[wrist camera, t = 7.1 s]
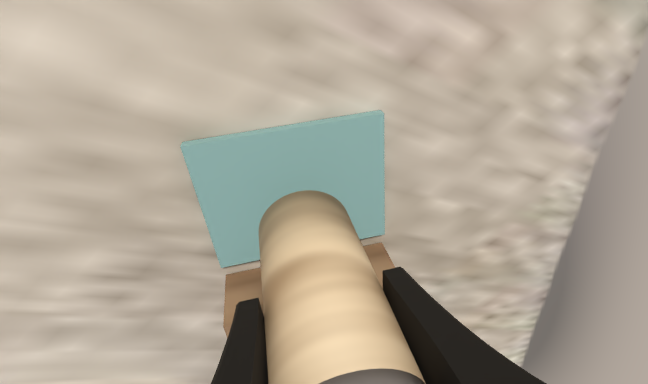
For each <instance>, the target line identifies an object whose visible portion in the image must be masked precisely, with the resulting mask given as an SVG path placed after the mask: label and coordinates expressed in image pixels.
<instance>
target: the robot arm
mask: <svg viewBox="0 0 648 384" xmlns="http://www.w3.org/2000/svg"><path fill="white" fill-rule="evenodd" d="M383 291H384V294H385V296H386V298H387V300H388V302H389V304H390V307H391V309H392V311H393V313H394V315H395V318H396V320H397V322H398V324H399V326H400V328H401V331H402V333H403V335H404V337H405V339H406V342H407V344H408V346H409V348H410V350H411V352H412V355H413V357H414V359H415V361H416V363H417V366H418V368H419V370H420V372H421V374H422V376H423V379H424V381H425V383H426V384H546V383H544V382H543V381H541V380H539V379H538V378H536V377H534V376H533V375H531V374H530V373H528V372H527V371H525V370H524V369H522V368H521V367H519V366H518V365H516V364H515V363H513V362H512V361H510V360H509V359H507V358H506V357H505V356H503V355H502V354H500V353H499V352H498V351H496V350H495V349H493V348H492V347H491V346H489V345H488V344H487V343H485V342H484V341H483V340H481V339H480V338H479V337H478V336H476V335H475V334H474V333H473V332H471V331H470V330H469V329H468V328H466V327H465V326H464V325H463V324H462V323H460V322H459V321H458V320H457V319H456V318H454V317H453V316H452V315H451V314H450V313H449V312H448V311H447V310H445V309H444V308H443V307H442V306H441V305H440V304H439V303H438V302H437V301H435V300H434V299H433V298H432V297H431V296H430V295H429V294H428V293H427V292H426V291H425V290H424V289H423V288H422V287H421V286H420V285H419V284H418V283H417V282H416V281H415V280H414V279H413V278H412V277H411V276H410V275H409V274H408V273H407V272H406V271H405V270H404V269H403V268H401V267H397V268H392V269H388V270H383ZM211 384H268V369H267V354H266V338H265V323H264V316H263V312H262V308H261V305H260V301H259V298H254V299H250V300H245V301H240V302H238V304H237V305H236V309H235V313H234V317H233V321H232V325H231V328H230V332H229V335H228V338H227V341H226V345H225V347H224V350H223V353H222V356H221V359H220V362H219V364H218V367H217V370H216V373H215V375H214V378H213V380H212V382H211Z"/></svg>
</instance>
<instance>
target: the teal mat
mask: <svg viewBox="0 0 648 384" xmlns="http://www.w3.org/2000/svg"><path fill="white" fill-rule="evenodd" d="M181 150H182V153H183V156H184V159H185V162H186V165H187V168H188V171H189V174H190V177H191V180H192V183H193V186H194V189H195V191H196V194H197V197H198V200H199V203H200V206H201V209H202V212H203V215H204V218H205V221H206V224H207V227H208V230H209V233H210V236H211V239H212V242H213V245H214V248H215V251H216V254H217V257H218V260H219V263H220V266H221V268H223V267H228V266H233V265H237V264H242V263H247V262H252V261H257V260H260V249H259V224H260V221H261V218H262V216H263V214H264V213H265V212H266V210H267V209H268V208H269V207H270V206H271V205H272V204H273V203H274V202H275V201H277V200H278V199H280V198H282V197H283V196H285V195H288V194H290V193H294V192H297V191H304V190H313V191H320V192H324V193H327V194H329V195H331V196H333V197H335V198H336V199H337V200H339V201H340V202H341V203H342V205H343V206H344V207H345V209H346V211H347V213H348V215H349V217H350V219H351V222H352V224H353V226H354V228H355V230H356V233H357V235H358V237H359V239H364V238H369V237H374V236H378V235H383V234H385V216H384V113H383V112H382V111H381V110H378V111H371V112H365V113H359V114H353V115H347V116H340V117H334V118H328V119H322V120H316V121H310V122H303V123H297V124H291V125H285V126H279V127H273V128H266V129H260V130H254V131H248V132H242V133H236V134H229V135H223V136H217V137H211V138H205V139H198V140H192V141H186V142H182V144H181Z"/></svg>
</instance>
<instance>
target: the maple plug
mask: <svg viewBox="0 0 648 384" xmlns="http://www.w3.org/2000/svg"><path fill="white" fill-rule="evenodd" d="M259 249H260V264H261V279H262V294H263V309H264V323H265V338H266V354H267V369H268V384H426V383H425V381H424V379H423V376H422V374H421V372H420V370H419V368H418V366H417V363H416V361H415V359H414V357H413V355H412V352H411V350H410V348H409V346H408V344H407V342H406V339H405V337H404V335H403V333H402V331H401V328H400V326H399V324H398V322H397V320H396V318H395V315H394V313H393V311H392V309H391V307H390V304H389V302H388V300H387V298H386V296H385V294H384V291H383V289H382V287H381V285H380V283H379V280H378V278H377V276H376V274H375V272H374V270H373V267H372V265H371V263H370V261H369V259H368V256H367V254H366V252H365V250H364V248H363V246H362V243H361V241H360V239H359V237H358V235H357V233H356V230H355V228H354V226H353V224H352V222H351V219H350V217H349V215H348V213H347V211H346V209H345V207H344V206H343V205H342V203H341V202H340V201H339V200H337V199H336V198H335V197H333V196H331V195H329V194H327V193H324V192H320V191H313V190H304V191H297V192H294V193H290V194H288V195H285V196H283V197H282V198H280V199H278V200H277V201H275V202H274V203H273V204H272V205H271V206H270V207H269V208H268V209H267V210H266V212H265V213H264V214H263V216H262V218H261V221H260V224H259Z"/></svg>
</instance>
